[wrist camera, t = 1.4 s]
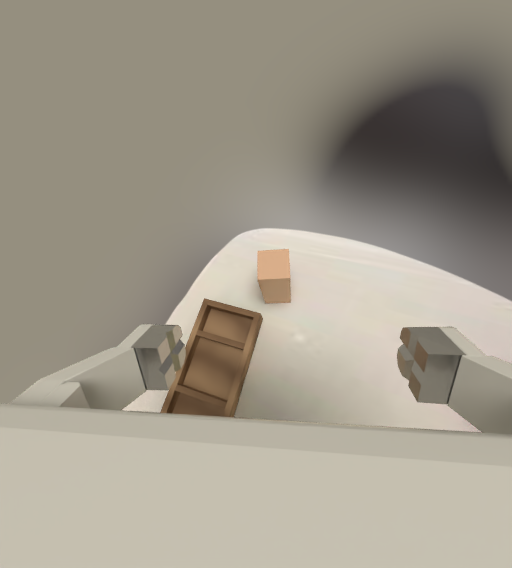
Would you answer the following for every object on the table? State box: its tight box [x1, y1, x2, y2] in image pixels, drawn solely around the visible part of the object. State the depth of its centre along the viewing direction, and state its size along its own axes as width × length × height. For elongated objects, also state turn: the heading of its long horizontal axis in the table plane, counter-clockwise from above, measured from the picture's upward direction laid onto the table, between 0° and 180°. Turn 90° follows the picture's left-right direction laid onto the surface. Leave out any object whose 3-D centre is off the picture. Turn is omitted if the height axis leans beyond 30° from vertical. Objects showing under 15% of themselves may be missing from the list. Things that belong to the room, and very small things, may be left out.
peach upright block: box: [258, 249, 291, 303], centre depth 36 cm, size 4×4×10 cm
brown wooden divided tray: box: [160, 299, 263, 417], centre depth 36 cm, size 18×9×3 cm, turn 163°
